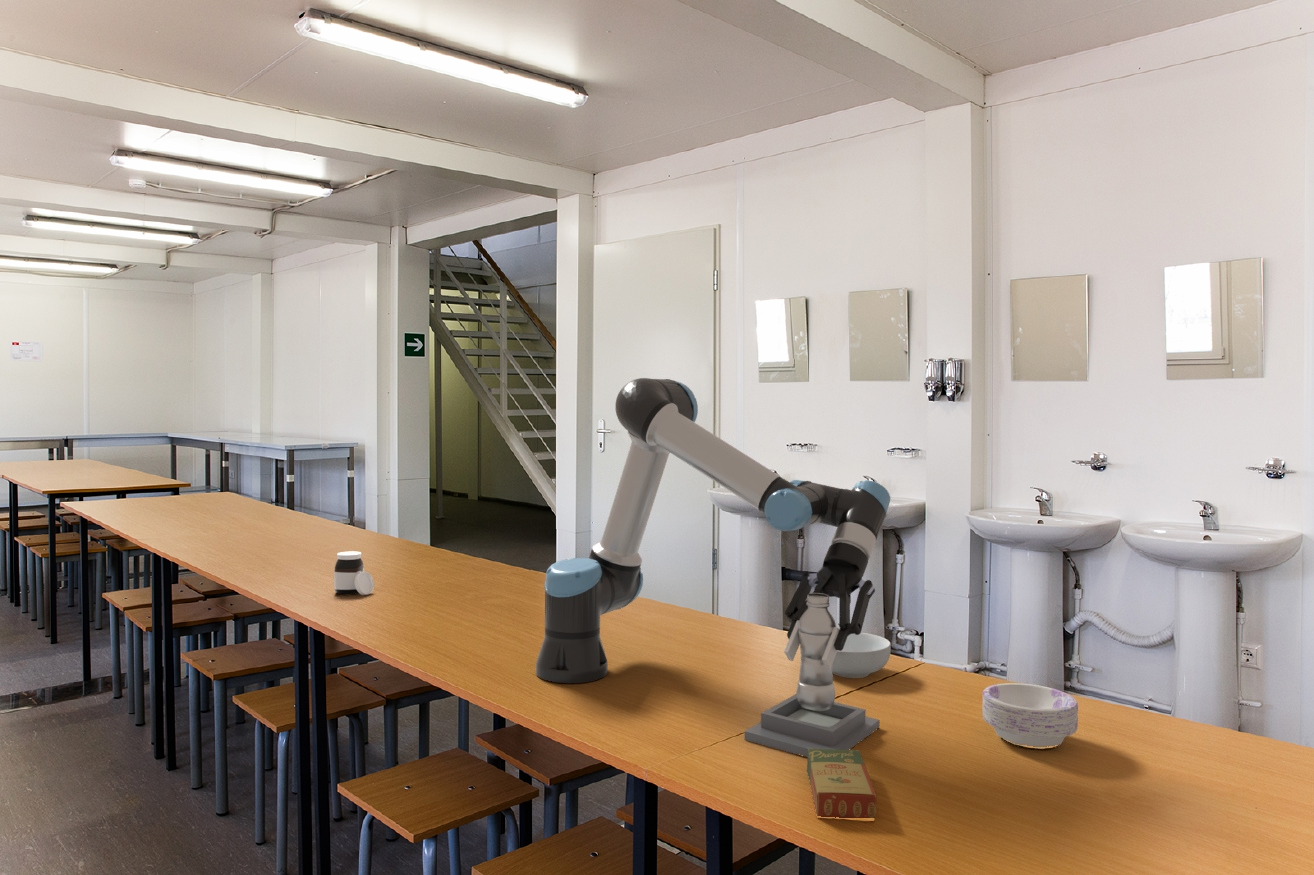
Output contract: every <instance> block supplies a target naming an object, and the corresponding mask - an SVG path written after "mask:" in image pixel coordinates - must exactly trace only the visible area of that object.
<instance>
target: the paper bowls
mask: <svg viewBox="0 0 1314 875" xmlns="http://www.w3.org/2000/svg"><path fill="white" fill-rule="evenodd" d="M1078 714H1079V704H1078V701H1077V699H1075V697H1074V696H1072V695H1071V694H1069V693H1066V692H1064V691H1061V690H1059V689H1056V688H1053V687H1048V686H1043V685H1038V684H1031V683H1019V682H1016V683H1015V682H1013V683H1012V682H1010V683H1008V682H1007V683H1006V682H1005V683H1004V682H1003V683H997V684H996V683H995V684H993V685H989V686H986V687H985V689H984V690H983V691H982V719H983V720H984V721H985V723H987V724H988V725H990V726H991V727H993V728H994V731H995V733H996V735H997V736H998V737H999V736H1000V737H1002V738H1003V739H1005V740H1008V741H1010V742H1012V743H1015V744H1019V745H1027V746H1033V747H1047V746H1048V747H1049V746H1055V745H1059V744H1060V745H1062V744H1063V742H1064V739H1065V738H1066V737H1069V736H1072V735H1074V734H1076V733H1077V731H1078V727H1079V726H1078V725H1079V723H1078V721H1079V716H1078ZM1000 737H999V738H1000ZM1060 745H1059V746H1060Z"/></svg>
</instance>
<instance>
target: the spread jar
mask: <svg viewBox="0 0 1314 875" xmlns="http://www.w3.org/2000/svg"><path fill="white" fill-rule="evenodd" d="M336 559H337V560H336V562H335V565H334V572H333V573H334V576H333V577H334V579H333V581H334V582H333V583H334V591H335V593H336V594H337V593H339V594H338V595H342V594H351V595H356V594H355V593H357V594H360V595H361V596H367V595H370V594H372V592H373V591H374V589H375V583H374V582H375V581H374V578H373V576H372V575H371V574H370V572H368V571H365V568H364V566H365V564H364V561H363V559H362V552H361V551H353V550H350V551H342V552H337V554H336Z"/></svg>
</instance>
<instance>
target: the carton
mask: <svg viewBox="0 0 1314 875" xmlns="http://www.w3.org/2000/svg"><path fill="white" fill-rule="evenodd" d="M806 772H807V773H808V774H807V773H806V774H807V777H808V776H809V778H808V781H809V780H810V782H809V786H810V785H811V787H810V791H811V790H812V792H811V796H812V795H813V797H812V801H813V800H814V802H813V806H814V805H815V807H814V810H815V809H816V812H815V815H816V814H817V816H821V817H835V818H836V817H839V818H875V819H876V814H877V813H876V811H877V810H876V806H877V793H876V792H875V789H874V786H873V784H872V780H871V778H870V776H869V773H868V770H867V767H866V764H865V762H864V759H863V756H862V754H861V752H860V750H858V749H857V750H856V749H851V750H832V749H808V758H807V763H806ZM817 816H816V817H817Z"/></svg>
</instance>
